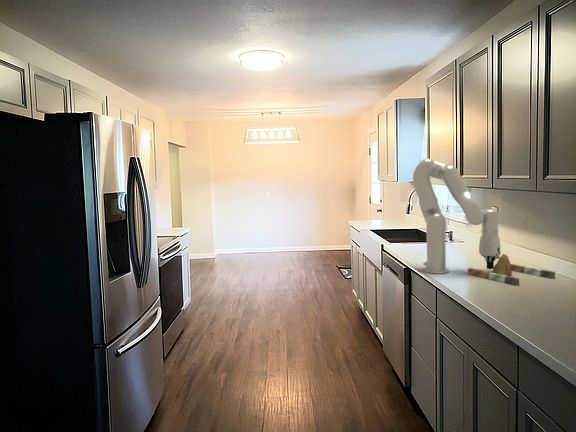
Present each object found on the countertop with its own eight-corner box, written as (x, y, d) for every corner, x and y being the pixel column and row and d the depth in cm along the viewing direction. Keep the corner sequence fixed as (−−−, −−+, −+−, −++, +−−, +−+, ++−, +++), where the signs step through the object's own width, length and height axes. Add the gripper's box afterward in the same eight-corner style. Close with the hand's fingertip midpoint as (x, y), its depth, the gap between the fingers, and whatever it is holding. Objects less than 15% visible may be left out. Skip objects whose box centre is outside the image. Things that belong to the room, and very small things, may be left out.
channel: (468, 274, 226) (468, 268, 225) (504, 268, 236) (504, 262, 236) (516, 285, 200) (516, 279, 200) (554, 278, 210) (555, 271, 210)
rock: (518, 272, 216) (515, 265, 225) (506, 258, 216) (504, 252, 225) (498, 284, 220) (496, 276, 229) (487, 270, 221) (486, 264, 230)
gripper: (473, 232, 233) (473, 267, 234) (497, 235, 219) (497, 272, 221) (483, 231, 236) (483, 265, 237) (507, 234, 222) (507, 270, 224)
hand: (490, 268), depth 229 cm, fingers closed
